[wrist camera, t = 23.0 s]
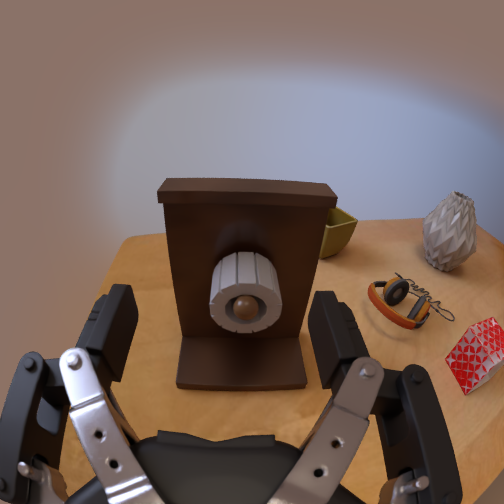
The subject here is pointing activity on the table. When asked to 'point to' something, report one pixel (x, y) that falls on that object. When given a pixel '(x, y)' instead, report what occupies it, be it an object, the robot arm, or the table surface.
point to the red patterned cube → (477, 355)
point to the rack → (245, 307)
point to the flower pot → (337, 232)
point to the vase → (450, 232)
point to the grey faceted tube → (245, 291)
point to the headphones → (395, 294)
